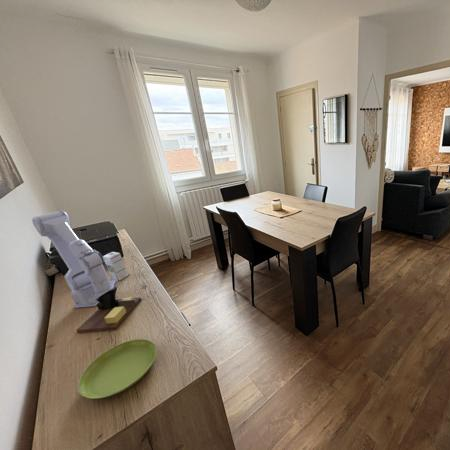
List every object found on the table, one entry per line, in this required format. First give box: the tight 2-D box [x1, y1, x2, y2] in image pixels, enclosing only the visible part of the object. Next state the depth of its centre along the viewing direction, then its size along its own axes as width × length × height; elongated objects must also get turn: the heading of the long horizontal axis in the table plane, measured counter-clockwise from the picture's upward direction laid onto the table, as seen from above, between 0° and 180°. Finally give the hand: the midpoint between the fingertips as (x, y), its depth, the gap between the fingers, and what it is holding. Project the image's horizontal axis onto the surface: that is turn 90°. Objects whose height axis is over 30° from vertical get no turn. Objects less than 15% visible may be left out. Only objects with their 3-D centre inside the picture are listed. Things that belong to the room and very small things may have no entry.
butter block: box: [105, 307, 126, 324], centre depth 99 cm, size 4×6×3 cm, turn 3°
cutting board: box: [76, 297, 142, 334], centre depth 103 cm, size 15×18×2 cm
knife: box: [96, 299, 138, 310], centre depth 106 cm, size 16×2×3 cm, turn 93°
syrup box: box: [102, 251, 129, 282], centre depth 129 cm, size 6×6×14 cm
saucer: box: [77, 338, 157, 400], centre depth 77 cm, size 21×21×3 cm
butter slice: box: [121, 296, 135, 306], centre depth 107 cm, size 4×2×3 cm, turn 93°
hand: (110, 305), depth 106 cm, fingers closed on knife, 2 cm apart
